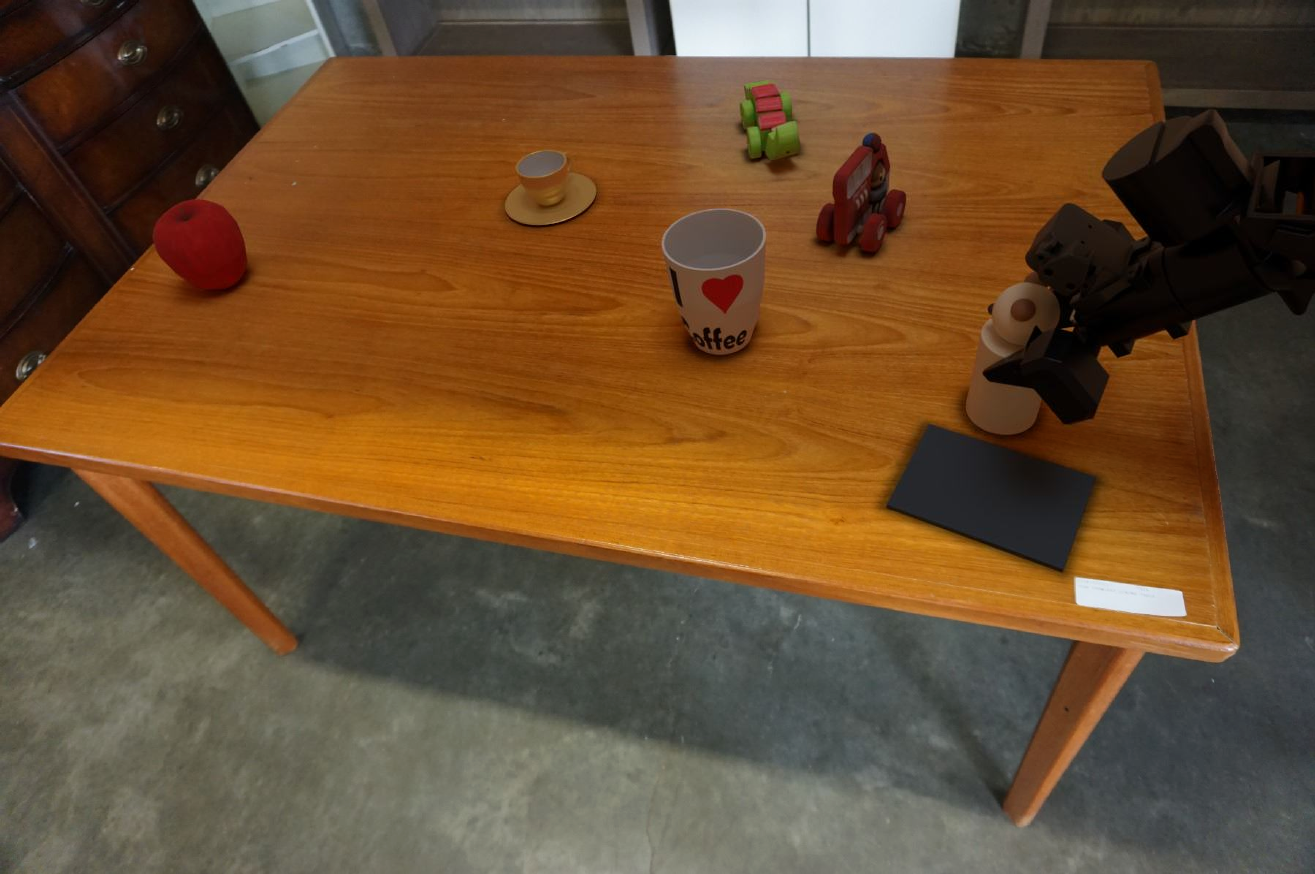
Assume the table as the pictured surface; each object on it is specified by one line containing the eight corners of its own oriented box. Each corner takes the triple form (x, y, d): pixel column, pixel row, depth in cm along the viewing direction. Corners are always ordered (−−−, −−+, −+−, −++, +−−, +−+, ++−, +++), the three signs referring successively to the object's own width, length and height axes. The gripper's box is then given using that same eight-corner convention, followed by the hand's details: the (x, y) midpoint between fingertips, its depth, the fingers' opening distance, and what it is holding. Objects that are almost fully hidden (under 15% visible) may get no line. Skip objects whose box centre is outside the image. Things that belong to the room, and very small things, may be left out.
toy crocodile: (736, 106, 118) (734, 63, 114) (783, 99, 118) (783, 56, 113) (754, 180, 105) (752, 135, 100) (807, 173, 104) (807, 127, 100)
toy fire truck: (912, 207, 97) (921, 123, 89) (866, 268, 91) (871, 183, 83) (856, 194, 100) (860, 112, 92) (808, 252, 94) (808, 169, 86)
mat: (1095, 479, 69) (1096, 476, 68) (1062, 572, 64) (1063, 569, 63) (928, 426, 75) (928, 423, 75) (886, 507, 70) (886, 504, 69)
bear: (956, 422, 75) (980, 300, 64) (977, 379, 78) (1004, 256, 67) (1025, 443, 72) (1062, 320, 62) (1044, 398, 75) (1083, 273, 65)
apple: (193, 268, 109) (144, 195, 100) (266, 249, 109) (223, 175, 101) (182, 314, 102) (129, 240, 94) (260, 294, 103) (214, 218, 95)
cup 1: (554, 237, 102) (544, 199, 98) (487, 212, 108) (474, 175, 104) (615, 188, 108) (608, 149, 104) (548, 166, 114) (539, 130, 110)
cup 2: (661, 356, 86) (644, 261, 77) (697, 297, 91) (685, 202, 82) (750, 375, 82) (744, 277, 73) (782, 313, 88) (780, 215, 79)
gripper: (1151, 123, 61) (975, 221, 74) (1085, 271, 51) (897, 353, 64) (1233, 237, 63) (1049, 312, 76) (1185, 398, 54) (984, 453, 67)
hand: (997, 352), depth 71 cm, fingers closed on bear, 6 cm apart
